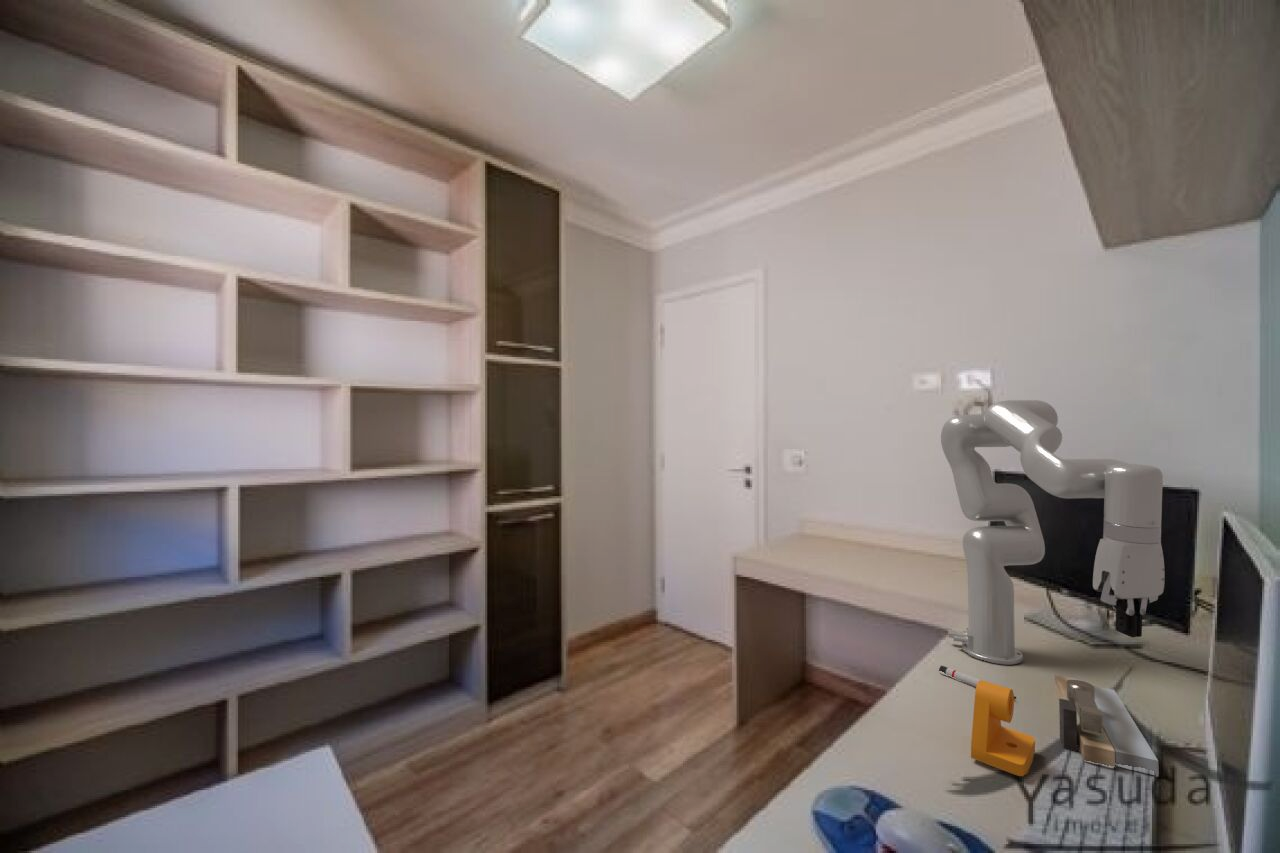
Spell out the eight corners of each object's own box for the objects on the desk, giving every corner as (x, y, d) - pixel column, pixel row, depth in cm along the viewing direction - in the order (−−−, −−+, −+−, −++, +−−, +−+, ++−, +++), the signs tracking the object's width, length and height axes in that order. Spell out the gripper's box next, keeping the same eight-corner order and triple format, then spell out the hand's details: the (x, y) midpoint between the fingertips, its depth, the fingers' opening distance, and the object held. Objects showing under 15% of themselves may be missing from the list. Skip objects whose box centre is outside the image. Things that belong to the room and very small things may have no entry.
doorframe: (1067, 757, 89) (1066, 717, 89) (1042, 686, 114) (1041, 654, 114) (1160, 780, 83) (1160, 736, 84) (1113, 700, 108) (1112, 666, 108)
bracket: (1023, 783, 84) (1022, 708, 84) (971, 762, 89) (970, 691, 89) (1036, 753, 91) (1035, 684, 91) (987, 735, 96) (986, 670, 96)
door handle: (1065, 694, 102) (1065, 676, 102) (1092, 700, 100) (1092, 681, 100) (1077, 729, 90) (1076, 709, 90) (1107, 737, 88) (1107, 715, 88)
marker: (939, 675, 120) (938, 666, 120) (943, 672, 121) (943, 664, 121) (1014, 704, 107) (1014, 695, 107) (1019, 702, 108) (1019, 692, 108)
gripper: (1143, 526, 98) (1140, 622, 99) (1074, 530, 96) (1072, 628, 97) (1191, 536, 91) (1187, 640, 92) (1117, 541, 89) (1114, 646, 90)
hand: (1128, 633), depth 94 cm, fingers closed
